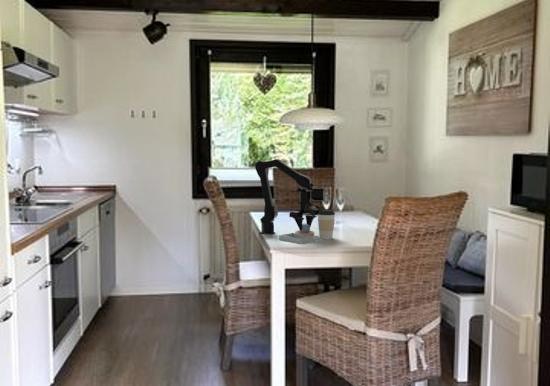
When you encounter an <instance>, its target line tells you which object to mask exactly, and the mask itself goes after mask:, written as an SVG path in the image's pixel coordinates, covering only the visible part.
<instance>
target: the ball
mask: <svg viewBox="0 0 550 386" xmlns="http://www.w3.org/2000/svg"><path fill="white" fill-rule="evenodd" d="M309 231H311V227H310V226H309V225H308V224H307V223H306V222H305V223H302V230H300V232H301V233H309Z"/></svg>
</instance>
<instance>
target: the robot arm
mask: <svg viewBox="0 0 550 386" xmlns="http://www.w3.org/2000/svg"><path fill="white" fill-rule="evenodd" d="M271 168H277V169H279V170H280V171H282V172H283V173H285V174H286V175H288V176H289V177H290V178H291V179H293V180H294V182H295V183H297V185H298V186H299V187H298V188H297V189H296V190H295V192H297V193H299V201H297V204H298V205H299V209H297V211H296V210H294V211H290V212H289V214H288V217H289V218H292V219H294V221H295V223H296V225H297V227H298V229H299V230H302V224H303V221H304V220H305V221H306V222H305V223H306V224H308V225H309V226H310V228H311V226H312V224H313V221H314V219H315V218H317V217H318V212H319V211H320V209H322V206H321V205H316V206H314V204H313V201H315V202H316V201H317V202H318V201H319V202H325V201H326V192H325V187H321V188H320V187H316V186H314V184H313V182H312V178H311V177H310V176H308V175H305V174H303V173H300V172H298V171H297V170H295V169H293V168H292V167H291V166H289V165H287V164H286V163H285V162H284V161H282V160H281V159H279V158H276V159H272V160H267V161H266V160H259V161H257V162H256V163H255V165H254V169H255V171H256V173H257V176H258V177H259V181H260V185H261V189H262V195H263V200H264V209H263V211H264V215H263V216H262V217H261V218H260V223H261V230H260V231H259V234H261V235H274V234H276V232H275V224H274V222H275V220H276V218H277V217H278V215H279V209H278V204H274V201H273V196H272V190H271V185H270V181H269V173H270V169H271ZM311 200H313V201H311ZM304 216H305V217H304ZM299 230H298V231H299Z"/></svg>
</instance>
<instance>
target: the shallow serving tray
mask: <svg viewBox="0 0 550 386" xmlns="http://www.w3.org/2000/svg"><path fill="white" fill-rule="evenodd" d="M279 239H280V241H285V242H291V243H295V244H296V243H297V244H300V245H301V244H305V243H311V242H315V241H316V236H315V235H314V236H309V235H303V234H297V233H295V232H290V233H284V234H278V240H279Z"/></svg>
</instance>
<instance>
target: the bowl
mask: <svg viewBox="0 0 550 386" xmlns="http://www.w3.org/2000/svg"><path fill="white" fill-rule="evenodd" d="M294 233H297V234H303V235H309V236H315V231H314V230H310V231H309V233H301V232H300V230H296V231H295V232H294Z"/></svg>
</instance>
